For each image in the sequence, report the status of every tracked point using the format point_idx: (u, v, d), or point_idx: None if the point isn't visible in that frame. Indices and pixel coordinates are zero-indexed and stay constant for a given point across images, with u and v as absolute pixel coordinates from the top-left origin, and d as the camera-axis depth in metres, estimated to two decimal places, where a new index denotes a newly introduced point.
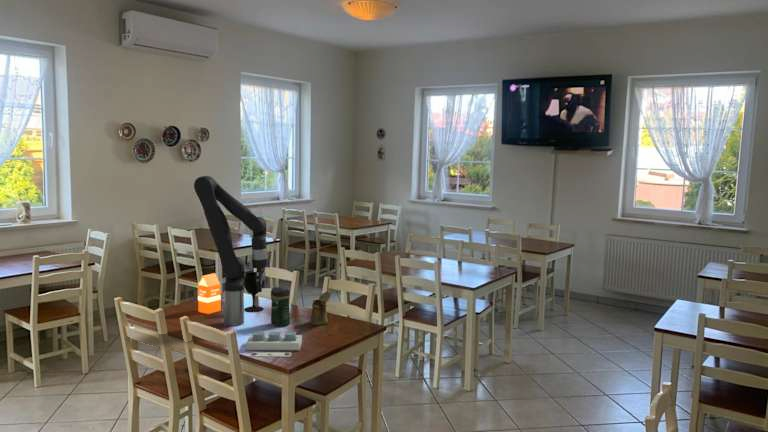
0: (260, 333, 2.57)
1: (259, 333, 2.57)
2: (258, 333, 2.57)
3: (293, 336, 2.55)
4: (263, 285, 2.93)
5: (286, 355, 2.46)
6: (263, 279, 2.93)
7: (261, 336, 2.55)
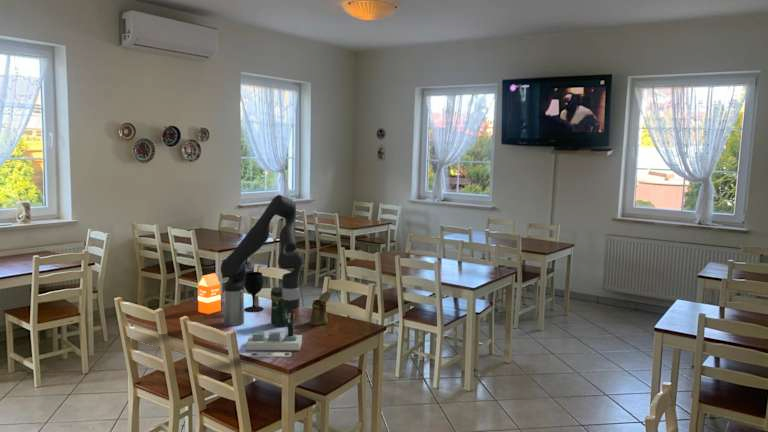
0: (260, 333, 2.57)
1: (259, 333, 2.57)
2: (258, 333, 2.57)
3: (293, 338, 2.55)
4: None
5: (286, 355, 2.46)
6: None
7: (261, 336, 2.55)
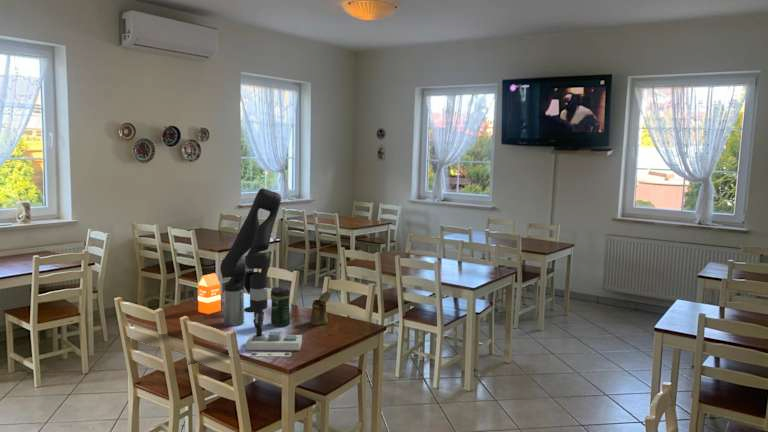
0: (260, 336, 2.57)
1: (259, 336, 2.57)
2: (258, 336, 2.57)
3: (293, 339, 2.55)
4: None
5: (286, 355, 2.46)
6: (260, 325, 2.57)
7: (261, 339, 2.55)
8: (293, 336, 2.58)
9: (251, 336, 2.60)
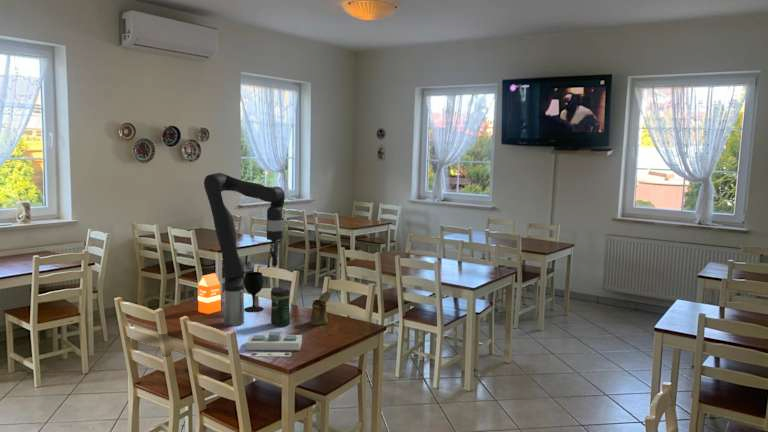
0: (260, 336, 2.57)
1: (259, 336, 2.57)
2: (258, 336, 2.57)
3: (293, 339, 2.55)
4: None
5: (286, 355, 2.46)
6: None
7: (261, 339, 2.55)
8: (293, 336, 2.58)
9: (251, 336, 2.60)
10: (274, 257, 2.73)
